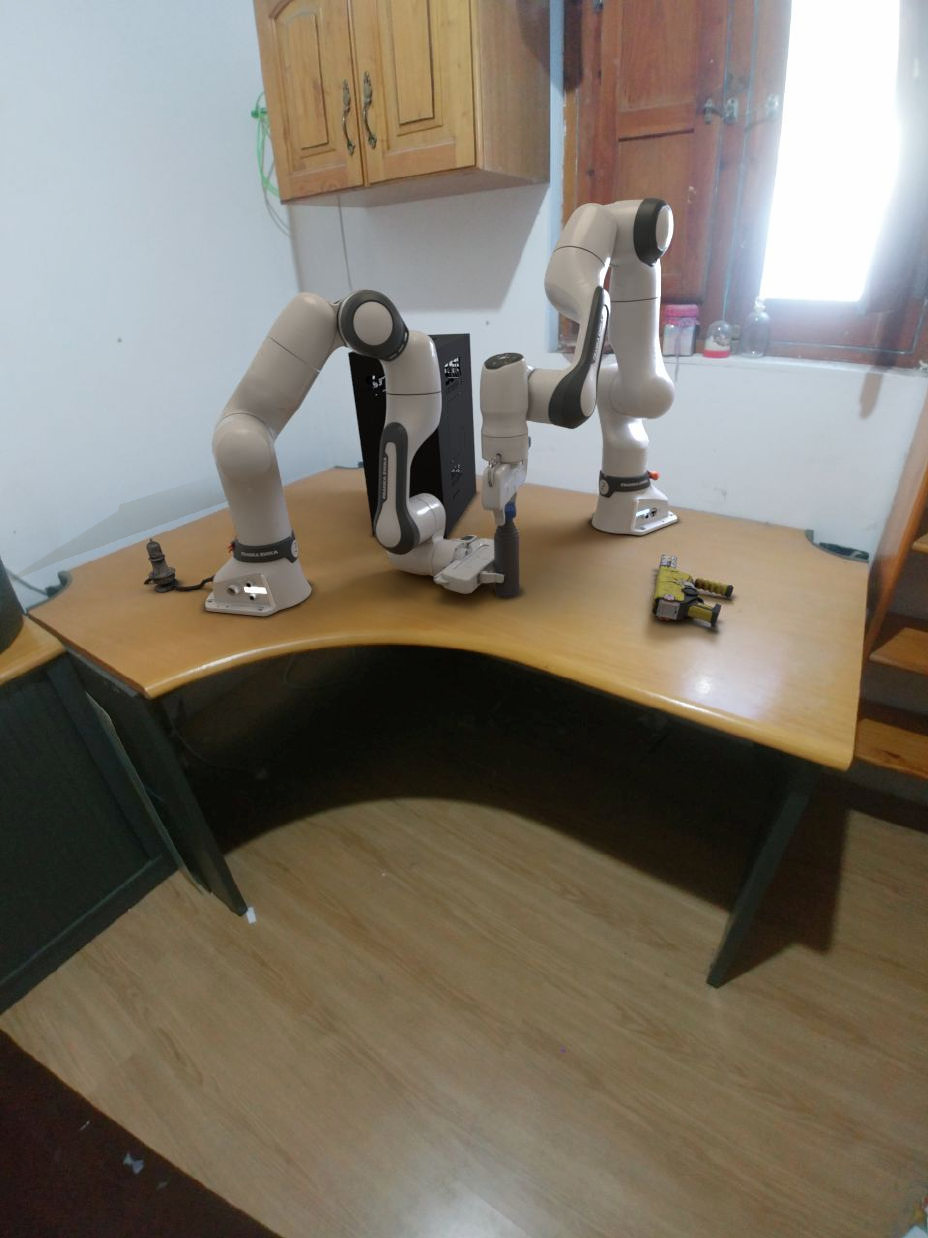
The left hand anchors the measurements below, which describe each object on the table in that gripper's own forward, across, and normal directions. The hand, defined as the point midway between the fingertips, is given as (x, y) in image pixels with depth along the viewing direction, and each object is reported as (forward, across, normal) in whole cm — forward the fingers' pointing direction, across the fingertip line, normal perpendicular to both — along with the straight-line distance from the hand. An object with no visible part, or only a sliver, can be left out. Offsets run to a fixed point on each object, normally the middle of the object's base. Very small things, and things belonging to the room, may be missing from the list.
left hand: (511, 571), depth 126 cm
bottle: (-1, 0, +5) cm, 5 cm away
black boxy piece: (-43, +36, +5) cm, 56 cm away
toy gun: (+35, +12, +5) cm, 37 cm away
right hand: (-1, 0, -12) cm, 12 cm away
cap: (-1, 0, -14) cm, 14 cm away
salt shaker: (-75, -29, +5) cm, 80 cm away
